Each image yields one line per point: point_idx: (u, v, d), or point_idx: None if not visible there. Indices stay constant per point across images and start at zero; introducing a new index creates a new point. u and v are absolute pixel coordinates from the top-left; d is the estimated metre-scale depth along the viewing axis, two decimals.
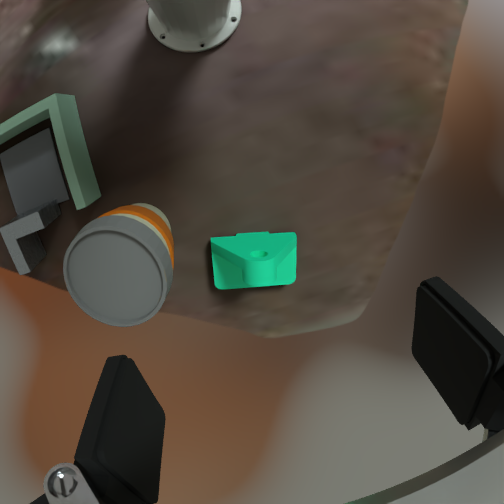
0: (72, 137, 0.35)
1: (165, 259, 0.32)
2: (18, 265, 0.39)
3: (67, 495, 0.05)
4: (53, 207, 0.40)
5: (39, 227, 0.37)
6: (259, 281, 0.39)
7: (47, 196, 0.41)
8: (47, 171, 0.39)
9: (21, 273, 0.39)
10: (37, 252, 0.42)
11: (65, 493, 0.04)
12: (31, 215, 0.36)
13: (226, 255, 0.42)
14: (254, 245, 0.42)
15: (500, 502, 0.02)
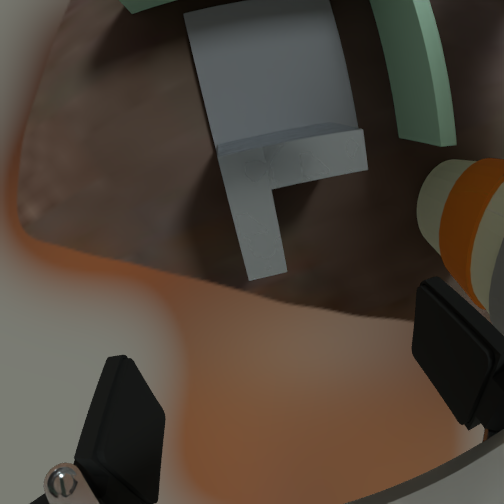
0: None
1: None
2: (254, 257, 0.20)
3: (67, 495, 0.05)
4: None
5: (356, 167, 0.18)
6: None
7: (309, 114, 0.22)
8: (317, 66, 0.20)
9: (255, 276, 0.20)
10: None
11: (65, 493, 0.04)
12: (342, 135, 0.17)
13: None
14: None
15: (500, 502, 0.02)
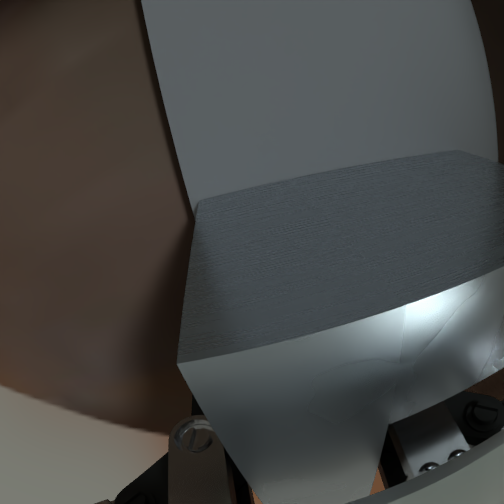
0: None
1: None
2: None
3: (193, 449, 0.06)
4: None
5: None
6: None
7: (423, 127, 0.08)
8: (434, 21, 0.07)
9: None
10: None
11: (192, 448, 0.06)
12: None
13: None
14: None
15: (500, 502, 0.02)
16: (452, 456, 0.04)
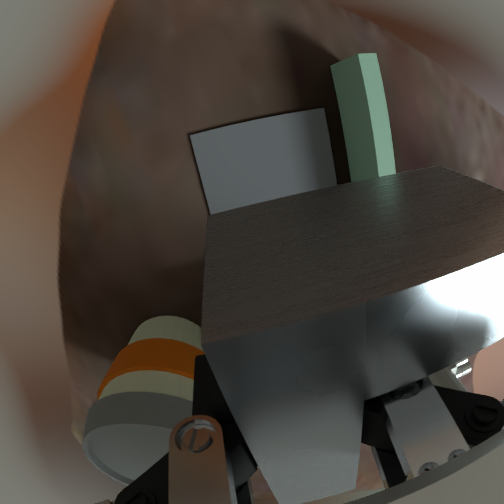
0: None
1: None
2: (296, 489, 0.07)
3: (194, 449, 0.06)
4: None
5: None
6: None
7: None
8: None
9: (295, 503, 0.08)
10: None
11: (193, 448, 0.06)
12: None
13: None
14: None
15: (500, 502, 0.02)
16: (451, 456, 0.04)
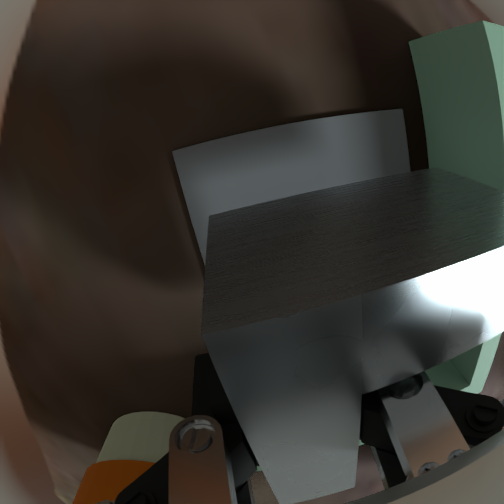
0: None
1: None
2: (295, 486, 0.07)
3: (194, 449, 0.06)
4: None
5: None
6: None
7: None
8: None
9: (294, 501, 0.08)
10: None
11: (193, 448, 0.06)
12: None
13: None
14: None
15: (500, 502, 0.02)
16: (451, 456, 0.04)
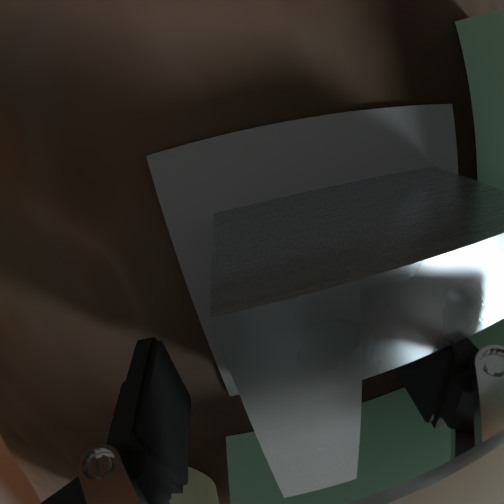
0: None
1: None
2: (298, 477, 0.08)
3: (101, 476, 0.05)
4: None
5: None
6: None
7: None
8: None
9: (297, 492, 0.08)
10: None
11: (99, 475, 0.05)
12: None
13: None
14: None
15: (500, 502, 0.02)
16: None
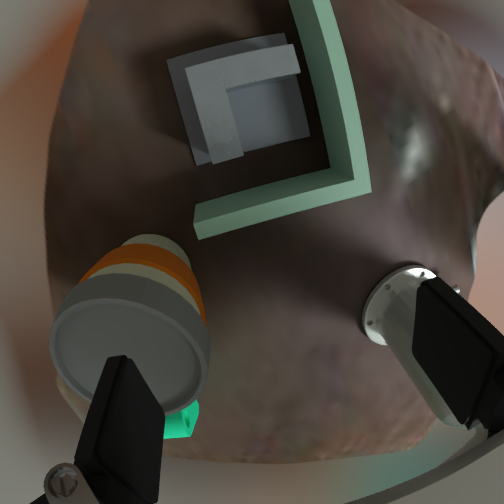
0: None
1: None
2: (215, 142, 0.23)
3: (68, 494, 0.05)
4: None
5: (290, 71, 0.22)
6: None
7: None
8: (243, 128, 0.29)
9: (218, 160, 0.24)
10: None
11: (65, 493, 0.04)
12: (276, 48, 0.21)
13: None
14: None
15: (500, 502, 0.02)
16: None
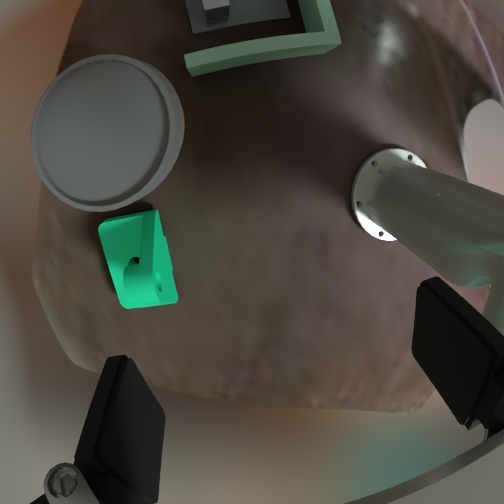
0: (278, 53, 0.28)
1: None
2: None
3: (68, 495, 0.05)
4: None
5: None
6: (129, 293, 0.30)
7: None
8: (234, 8, 0.29)
9: (209, 7, 0.24)
10: None
11: (65, 493, 0.04)
12: None
13: (146, 241, 0.33)
14: (162, 268, 0.35)
15: (500, 502, 0.02)
16: None
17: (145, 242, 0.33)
